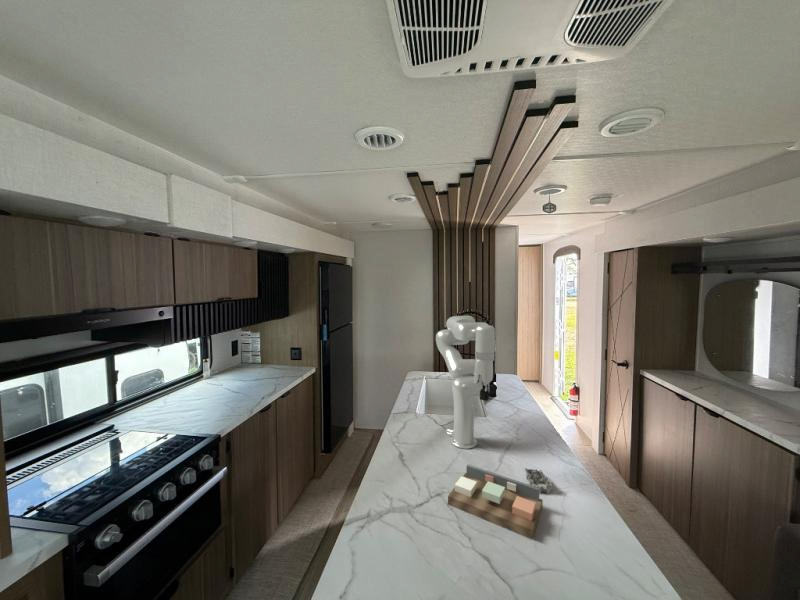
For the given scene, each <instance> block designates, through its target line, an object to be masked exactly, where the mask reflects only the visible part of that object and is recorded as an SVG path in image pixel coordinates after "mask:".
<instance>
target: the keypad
mask: <svg viewBox="0 0 800 600" xmlns="http://www.w3.org/2000/svg"><path fill="white" fill-rule="evenodd" d="M463 477H465V478H468V479H471V480H474V481H477V489H476V490H475V492H474V493H473V495H472V496H471V497H468V496H466V495H463V494H461V493H458V492H456V491H455V486H454V487H453V488H452V490H451V491H450V492H449V494H448V496H447V505H449V506H451V507H454V508H457V509H459V510H461V511H463V512H466V513H467V514H471V515H472V516H475V517H478V518H480V519H483V520H485V521H487V522H490V523H491V524H494V525H496V526H499V527H501V528H505V529H506V528H507V530H509V531H512V532H513V531H514V533H516V534H518V535H520V536H523V537H525V536H526V538H528V539H530V540H533V538H534V535H535V532H536V530H537V525H538V524H539V523H538V522H539V520H540V517H541V513H542V509H543V504H544V503H543V499H541V498H540V493H539V490H540V488H538V487H534V486H532V485H529V483H525V482H522V481H519V480H516V479H513V478H510V477H507V476H504V475H501V474H497V473H495V472H492V471H489V470H486V469H484V468H479V467H477V466H474V465H472V464H471V465H470V464H467V465H466V472H465V473H463ZM488 481H489V482H491V483H494V484H497V485H500V486H503V487H505V495H504V497H503V499H502V501H501V502H500V504H498V503H496V502H493V501H490V500H488V499H485V498H482V490H483V488H484V487H485V485H486V483H487V482H488ZM517 496H519V497H522V498H524V499H527V500H530V501H533V502H536V510H535V513H534V516H533V519H532V521H530V520H528V519H525V518H523V517H520V516H517V515H515V514H512V506H513V503H514V501H515V499H516V497H517Z"/></svg>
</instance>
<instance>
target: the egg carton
mask: <svg viewBox="0 0 800 600" xmlns="http://www.w3.org/2000/svg"><path fill="white" fill-rule="evenodd" d="M524 471H525V480H527V481H528V485H531V486H534V487H538V488H540V490H539V494H541V492H544V493H546V494H550V492H551V491H552V486H553V481H552V480H551V479H549V477H548V476H547V475H546V474H545V473H543V470H542V469H540V470H538V469H537V468H536V469H534V468H533V469H532V468H525V470H524ZM532 478H533V479H532ZM541 482H542V483H543V484H545V486H544V485H540V483H541ZM537 484H538V485H537Z"/></svg>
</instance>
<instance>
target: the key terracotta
mask: <svg viewBox="0 0 800 600" xmlns="http://www.w3.org/2000/svg"><path fill="white" fill-rule="evenodd" d="M535 510H536V502H533V501H530V500H527V499H524V498H522V497H519V496H517V497H516V499H515V501H514V503H513V506H512V514H515V515H517V516H520V517H523V518H525V519H528V520H530V521H532V519H533V516H534V513H535Z"/></svg>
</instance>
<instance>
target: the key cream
mask: <svg viewBox="0 0 800 600" xmlns="http://www.w3.org/2000/svg"><path fill="white" fill-rule="evenodd" d="M463 476H464V475H463ZM463 476H462V475H461V476H460V477H459V479H458V480H457V481H456V483H455V484H454V487H455V491H456V492H458V493H461V494H463V495H466V496H468V497H471V496H472V495H473V493H474V492H475V490H476V489H477V481H474V480H471V479H468V478H465V477H463Z"/></svg>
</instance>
